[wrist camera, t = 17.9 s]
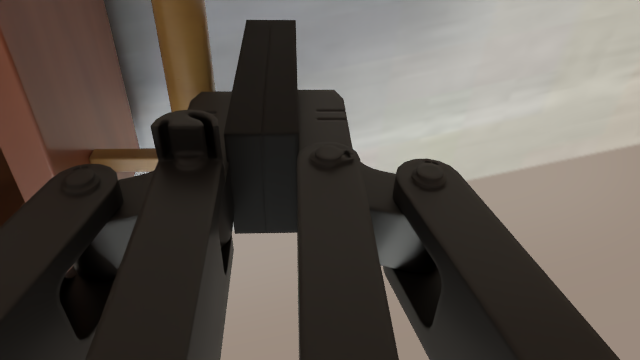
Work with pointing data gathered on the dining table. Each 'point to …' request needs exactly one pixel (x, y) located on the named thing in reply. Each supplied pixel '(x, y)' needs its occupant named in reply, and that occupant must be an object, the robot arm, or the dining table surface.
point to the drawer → (83, 89)
